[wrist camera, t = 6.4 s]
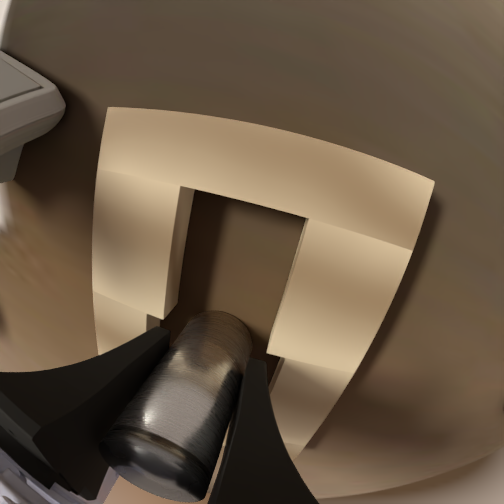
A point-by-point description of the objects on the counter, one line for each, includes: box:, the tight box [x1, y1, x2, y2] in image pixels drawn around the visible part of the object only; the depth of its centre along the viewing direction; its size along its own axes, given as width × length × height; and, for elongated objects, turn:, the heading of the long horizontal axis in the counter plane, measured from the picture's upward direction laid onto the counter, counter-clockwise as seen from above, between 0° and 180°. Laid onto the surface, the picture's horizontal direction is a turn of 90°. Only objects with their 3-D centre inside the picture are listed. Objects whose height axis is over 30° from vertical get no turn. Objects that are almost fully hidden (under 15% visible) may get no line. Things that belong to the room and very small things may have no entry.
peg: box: [99, 311, 252, 502], centre depth 9 cm, size 3×3×8 cm
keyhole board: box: [92, 107, 435, 461], centre depth 12 cm, size 16×12×2 cm
